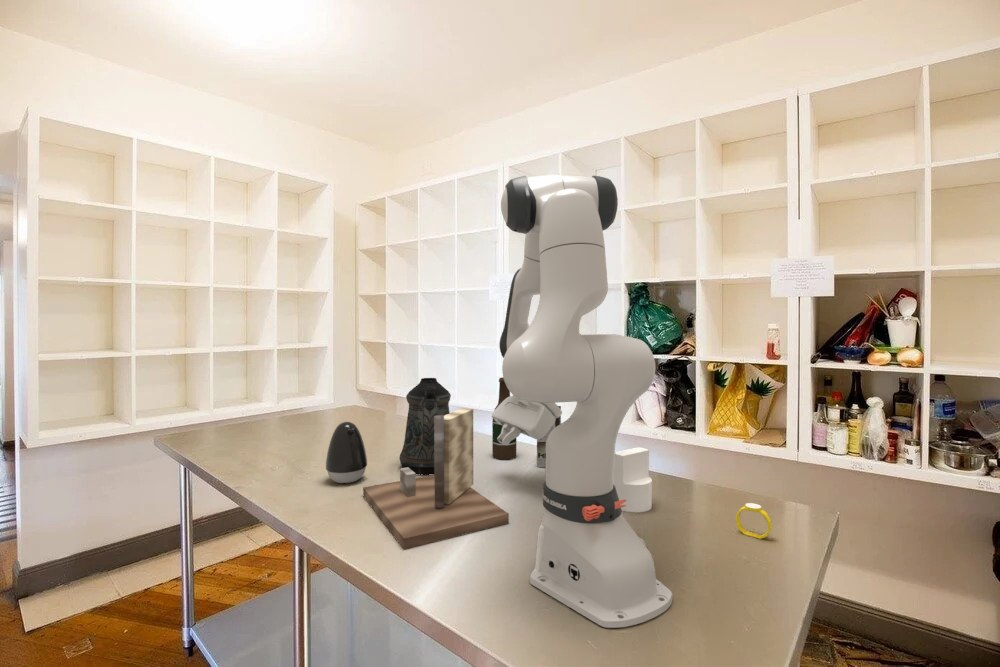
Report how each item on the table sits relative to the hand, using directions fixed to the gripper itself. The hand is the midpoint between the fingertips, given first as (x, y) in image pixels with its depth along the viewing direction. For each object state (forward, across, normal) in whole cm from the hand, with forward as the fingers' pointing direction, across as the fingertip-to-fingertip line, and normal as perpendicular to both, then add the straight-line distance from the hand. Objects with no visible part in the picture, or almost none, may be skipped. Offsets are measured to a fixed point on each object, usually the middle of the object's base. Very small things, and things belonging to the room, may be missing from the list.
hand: (501, 442), depth 115 cm
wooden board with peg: (+22, +2, -6) cm, 23 cm away
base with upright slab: (-6, +22, +23) cm, 33 cm away
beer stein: (+14, -25, +3) cm, 29 cm away
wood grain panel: (+16, +3, -3) cm, 17 cm away
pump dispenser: (+31, -26, -14) cm, 42 cm away
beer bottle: (-2, -24, +19) cm, 30 cm away
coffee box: (-8, -12, +24) cm, 28 cm away
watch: (-13, +45, +29) cm, 55 cm away
